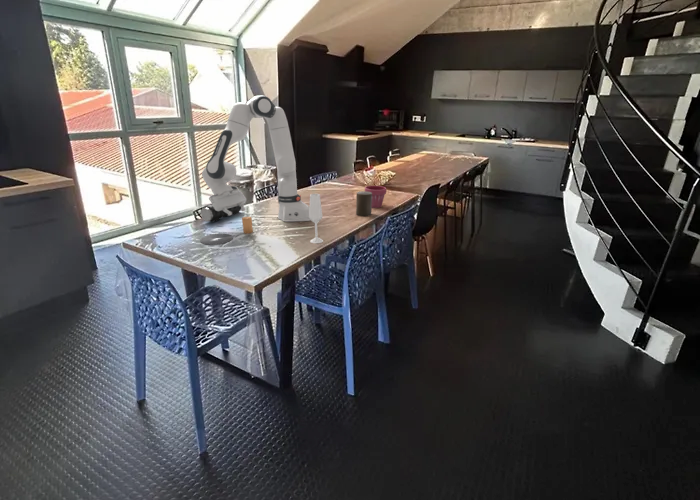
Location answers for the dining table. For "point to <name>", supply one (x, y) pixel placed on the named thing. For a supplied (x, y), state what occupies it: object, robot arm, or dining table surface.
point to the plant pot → (376, 195)
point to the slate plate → (216, 239)
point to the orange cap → (247, 225)
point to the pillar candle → (363, 203)
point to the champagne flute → (315, 214)
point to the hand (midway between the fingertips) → (237, 212)
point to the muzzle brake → (216, 213)
